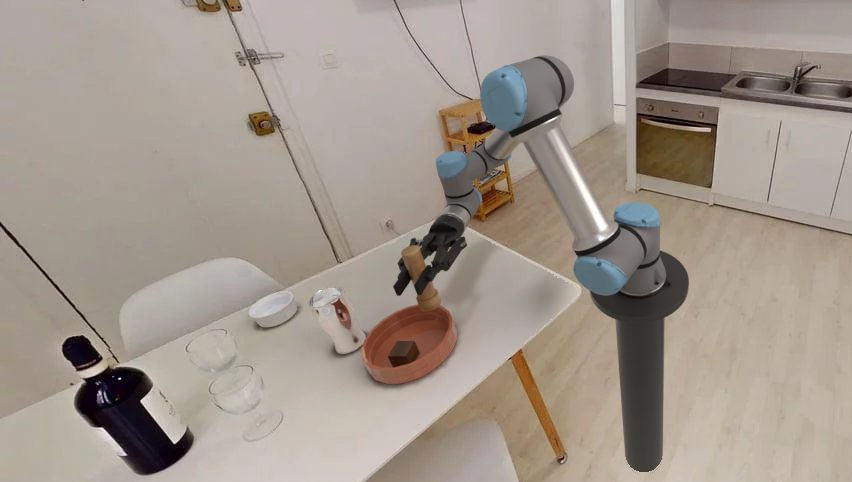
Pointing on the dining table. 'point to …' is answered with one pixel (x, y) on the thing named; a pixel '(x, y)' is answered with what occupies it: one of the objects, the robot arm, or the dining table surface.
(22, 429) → the dining table surface
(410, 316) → the bowl
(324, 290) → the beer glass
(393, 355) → the walnut block
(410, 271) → the muddler
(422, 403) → the dining table surface
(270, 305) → the ramekin
